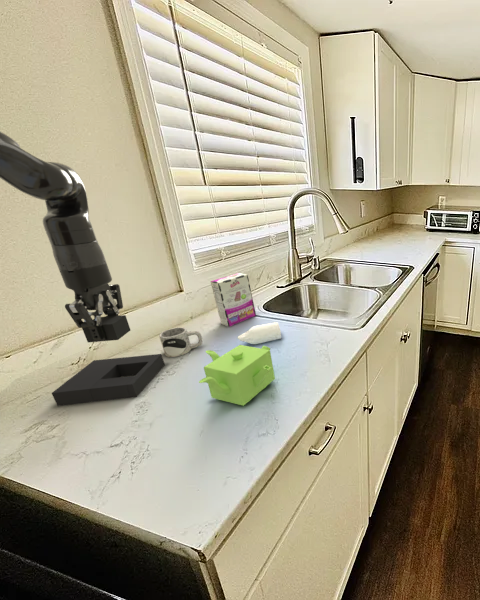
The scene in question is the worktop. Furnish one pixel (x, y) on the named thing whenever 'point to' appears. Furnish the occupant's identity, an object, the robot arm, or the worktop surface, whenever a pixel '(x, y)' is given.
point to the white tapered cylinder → (261, 333)
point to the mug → (178, 341)
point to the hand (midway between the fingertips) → (109, 334)
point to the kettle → (239, 373)
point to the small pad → (111, 328)
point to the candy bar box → (233, 299)
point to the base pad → (109, 380)
